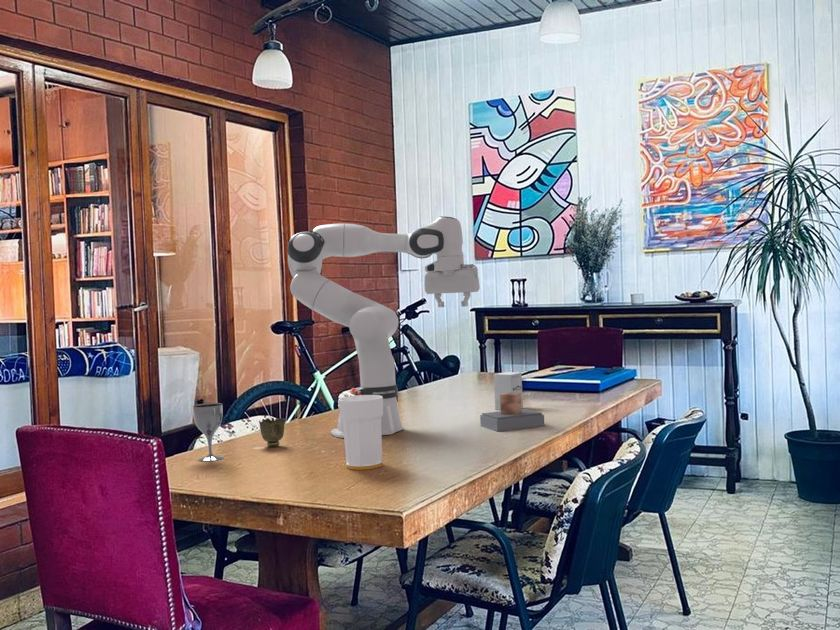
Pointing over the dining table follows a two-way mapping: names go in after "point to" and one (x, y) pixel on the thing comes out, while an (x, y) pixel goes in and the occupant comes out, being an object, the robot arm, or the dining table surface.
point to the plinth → (512, 420)
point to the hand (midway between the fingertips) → (452, 306)
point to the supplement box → (507, 385)
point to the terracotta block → (510, 403)
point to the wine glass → (208, 424)
